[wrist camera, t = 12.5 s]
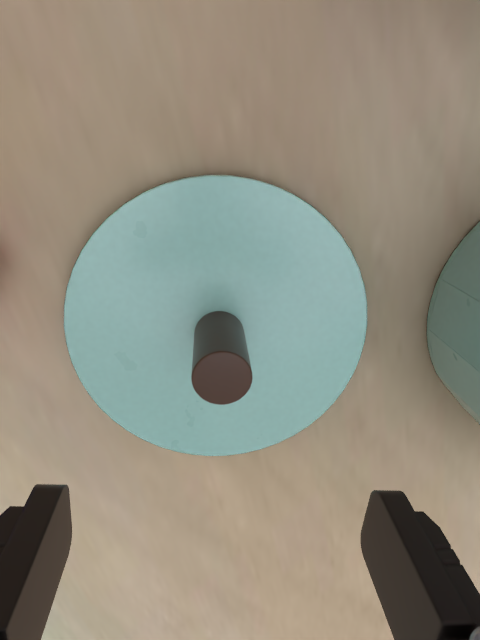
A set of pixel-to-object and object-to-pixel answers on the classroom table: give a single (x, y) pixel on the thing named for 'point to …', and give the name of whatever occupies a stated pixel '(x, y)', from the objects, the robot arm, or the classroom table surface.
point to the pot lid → (215, 315)
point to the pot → (458, 324)
